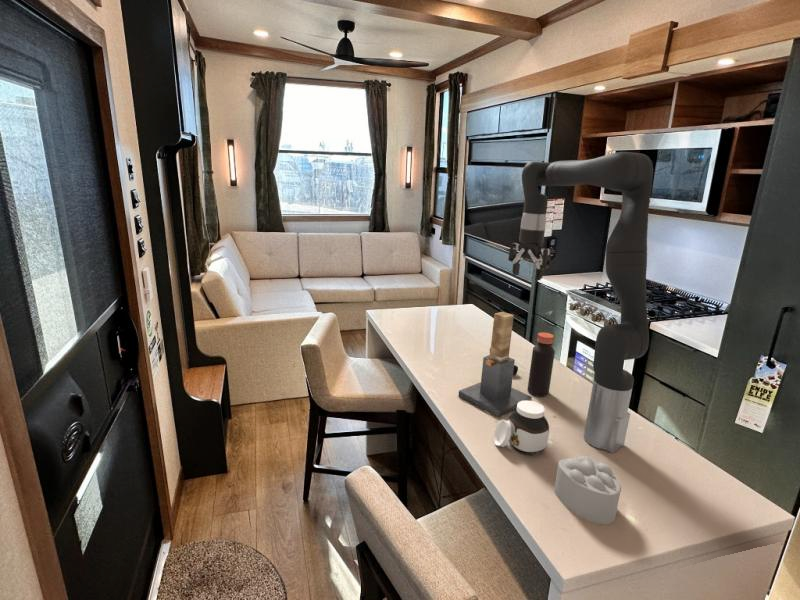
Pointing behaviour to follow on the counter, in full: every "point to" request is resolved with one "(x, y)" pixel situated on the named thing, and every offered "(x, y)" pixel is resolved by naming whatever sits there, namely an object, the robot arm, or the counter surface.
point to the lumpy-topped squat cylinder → (588, 489)
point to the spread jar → (524, 429)
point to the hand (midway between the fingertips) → (526, 277)
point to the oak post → (501, 336)
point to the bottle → (541, 365)
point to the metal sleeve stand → (495, 389)
